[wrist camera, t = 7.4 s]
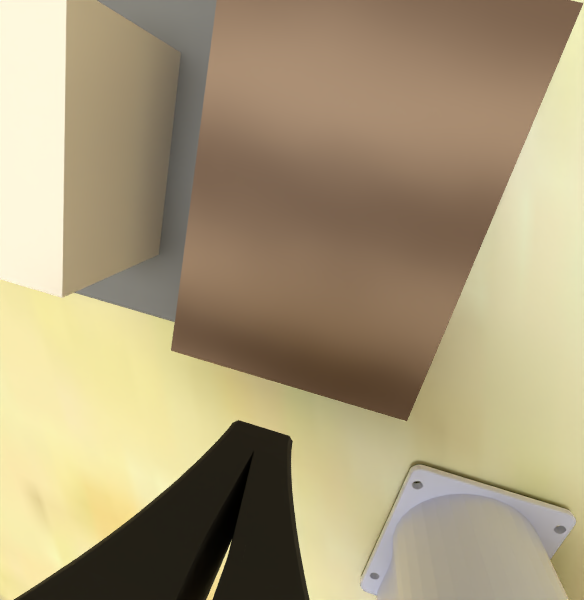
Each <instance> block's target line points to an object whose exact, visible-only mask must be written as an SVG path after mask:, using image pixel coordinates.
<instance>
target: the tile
mask: <svg viewBox="0 0 584 600" xmlns="http://www.w3.org/2000/svg"><path fill="white" fill-rule="evenodd" d="M180 56H181V52H179V51H177V50H176V49H174V48H173V47H171V46H169V45H168V44H166V43H165V42H163V41H161V40H160V39H158V38H157V37H155V36H153V35H152V34H150V33H149V32H147V31H145V30H144V29H142V28H140V27H139V26H137V25H136V24H134V23H132V22H131V21H129V20H128V19H126V18H124V17H123V16H121V15H120V14H118V13H116V12H115V11H113V10H112V9H110V8H108V7H107V6H105V5H104V4H102V3H100V2H99V1H97V0H0V279H1V280H5V281H8V282H11V283H15V284H18V285H21V286H25V287H28V288H31V289H35V290H38V291H41V292H45V293H48V294H51V295H55V296H58V297H61V298H63V297H65V296H67V295H69V294H72V293H74V292H76V291H78V290H81V289H83V288H85V287H87V286H90V285H92V284H94V283H96V282H99V281H101V280H103V279H105V278H107V277H110V276H112V275H114V274H116V273H119V272H121V271H123V270H125V269H128V268H130V267H132V266H134V265H137V264H139V263H141V262H143V261H146V260H148V259H150V258H152V257H154V256H157V255H159V247H160V238H161V229H162V220H163V211H164V202H165V193H166V184H167V175H168V165H169V156H170V147H171V138H172V129H173V120H174V111H175V102H176V93H177V84H178V75H179V65H180Z"/></svg>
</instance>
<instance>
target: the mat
mask: <svg viewBox="0 0 584 600" xmlns="http://www.w3.org/2000/svg"><path fill="white" fill-rule="evenodd" d="M97 1H99V2H100V3H102V4H104V5H105V6H107V7H108V8H110V9H112V10H113V11H115V12H116V13H118V14H120V15H121V16H123V17H124V18H126V19H128V20H129V21H131V22H132V23H134V24H136V25H137V26H139V27H140V28H142V29H144V30H145V31H147V32H149V33H150V34H152V35H153V36H155V37H157V38H158V39H160V40H161V41H163V42H165V43H166V44H168V45H169V46H171V47H173V48H174V49H176V50H177V51H179V52H181V56H180V65H179V75H178V84H177V93H176V102H175V111H174V120H173V129H172V138H171V147H170V156H169V165H168V175H167V184H166V193H165V202H164V211H163V220H162V229H161V238H160V247H159V255H157V256H154V257H152V258H150V259H148V260H146V261H143V262H141V263H139V264H137V265H134V266H132V267H130V268H128V269H125V270H123V271H121V272H119V273H116V274H114V275H112V276H110V277H107V278H105V279H103V280H101V281H99V282H96V283H94V284H92V285H90V286H87V287H85V288H83V289H81V290H78V291H76V292H74V293H78V294H81V295H84V296H88V297H91V298H95V299H98V300H101V301H105V302H108V303H112V304H115V305H119V306H122V307H125V308H129V309H132V310H136V311H139V312H142V313H146V314H149V315H153V316H156V317H159V318H163V319H166V320H170V321H173V322H175V317H176V309H177V301H178V294H179V286H180V278H181V271H182V263H183V255H184V248H185V240H186V232H187V225H188V217H189V209H190V202H191V194H192V186H193V179H194V171H195V163H196V156H197V148H198V140H199V133H200V125H201V117H202V110H203V102H204V94H205V86H206V79H207V71H208V63H209V56H210V48H211V40H212V33H213V25H214V17H215V10H216V2H217V0H97Z"/></svg>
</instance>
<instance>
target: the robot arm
mask: <svg viewBox="0 0 584 600" xmlns="http://www.w3.org/2000/svg"><path fill="white" fill-rule="evenodd" d="M292 442H293V441H292V440H291V438H290V436H288V435H285V434H281V433H278V432H275V431H272V430H268V429H265V428H262V427H259V426H255V425H252V424H249V423H246V422H243V421H239V420H238V421H236V422H234V423H232V425H231V426H230V427H229V428H228V430H227V431H226V432H225V433H224V434H223V435H222V436H221V438H220V439H219V440H218V441H217V442H216V443H215V444H214V445H213V446H212V447H211V448H210V449H209V450H208V451H207V452H206V453H205V454H204V455H203V456H202V457H201V458H200V459H199V460H198V461H197V462H196V463H195V464H194V465H193V466H192V467H191V468H189V469H188V470H187V471H186V472H185V473H184V474H183V475H182V476H181V477H180V478H179V479H178V480H177V481H175V482H174V483H173V484H172V485H171V486H170V487H169V488H167V489H166V490H165V491H164V492H163V493H161V494H160V495H159V496H158V497H157V498H155V499H154V500H153V501H152V502H151V503H149V504H148V505H147V506H146V507H145V508H143V509H142V510H141V511H140V512H139V513H137V514H136V515H135V516H134V517H132V518H131V519H130V520H128V521H127V522H126V523H125V524H123V525H122V526H121V527H119V528H118V529H117V530H115V531H114V532H113V533H111V534H110V535H109V536H107V537H106V538H105V539H103V540H102V541H100V542H99V543H98V544H96V545H95V546H93V547H92V548H91V549H89V550H88V551H87V552H85V553H84V554H82V555H81V556H79V557H78V558H77V559H75V560H74V561H72V562H71V563H69V564H68V565H66V566H65V567H63V568H62V569H60V570H59V571H57V572H56V573H54V574H53V575H51V576H50V577H48V578H47V579H45V580H44V581H42V582H41V583H39V584H38V585H36V586H35V587H33V588H31V589H30V590H28V591H27V592H25V593H24V594H22V595H20V596H19V597H17V598H16V599H14V600H206V599H207V596H208V594H209V592H210V589H211V587H212V585H213V582H214V580H215V578H216V575H217V573H218V571H219V568H220V566H221V564H222V561H223V559H224V557H225V554H226V552H227V550H228V547H229V545H230V542H231V546H230V550H229V554H228V557H227V560H226V563H225V566H224V569H223V572H222V574H221V577H220V580H219V583H218V586H217V589H216V591H215V594H214V597H213V600H309V595H308V591H307V586H306V581H305V576H304V570H303V565H302V560H301V554H300V548H299V542H298V536H297V529H296V521H295V513H294V504H293V495H292V480H291V449H292ZM415 481H420V483H413V482H415ZM575 524H576V519H575V517H574V515H573V514H572V513H571V511H569V510H567V509H565V508H561V507H558V506H555V505H552V504H548V503H545V502H542V501H539V500H535V499H532V498H529V497H526V496H522V495H519V494H516V493H513V492H509V491H506V490H503V489H500V488H496V487H493V486H490V485H487V484H483V483H480V482H477V481H474V480H470V479H467V478H464V477H460V476H457V475H454V474H451V473H447V472H444V471H441V470H438V469H434V468H431V467H428V466H425V465H415V466H413V467H412V468H411V469H410V470H409V473H408V475H407V477H406V479H405V482H404V484H403V486H402V488H401V490H400V493H399V495H398V497H397V499H396V501H395V504H394V506H393V508H392V510H391V513H390V515H389V517H388V519H387V521H386V524H385V526H384V528H383V530H382V532H381V535H380V537H379V539H378V541H377V543H376V546H375V548H374V550H373V552H372V555H371V557H370V559H369V561H368V563H367V566H366V568H365V570H364V572H363V574H362V577H361V580H360V586H361V588H362V589H363V590H364V591H366V592H368V593H371V594H374V595H377V600H569V598H568V596H567V594H566V592H565V590H564V588H563V586H562V584H561V582H560V580H559V578H558V575H557V573H556V571H555V569H554V567H553V565H552V563H551V561H550V559H551V558H552V557H553V555H554V554H555V552H556V551H557V549H558V548H559V547H560V545H561V544H562V542H563V541H564V540H565V538H566V537H567V535H568V534H569V533H570V531H571V530H572V528H573V527H574V526H575ZM559 525H560V526H559ZM556 526H557V527H556ZM231 540H232V541H231Z"/></svg>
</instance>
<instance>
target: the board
mask: <svg viewBox="0 0 584 600" xmlns="http://www.w3.org/2000/svg"><path fill="white" fill-rule="evenodd" d="M582 5H583V3H580V2H575V1H571V0H217V2H216V10H215V17H214V25H213V33H212V40H211V48H210V56H209V63H208V71H207V79H206V86H205V94H204V102H203V110H202V117H201V125H200V133H199V140H198V148H197V156H196V163H195V171H194V179H193V186H192V194H191V202H190V209H189V217H188V225H187V232H186V240H185V248H184V255H183V263H182V271H181V278H180V286H179V294H178V301H177V309H176V317H175V325H174V332H173V340H172V348H171V351H174V352H178V353H181V354H184V355H188V356H191V357H194V358H198V359H201V360H204V361H208V362H211V363H214V364H218V365H221V366H224V367H228V368H231V369H235V370H238V371H241V372H245V373H248V374H251V375H255V376H258V377H261V378H265V379H268V380H271V381H275V382H278V383H281V384H285V385H288V386H291V387H295V388H298V389H301V390H305V391H308V392H311V393H315V394H318V395H321V396H325V397H328V398H331V399H335V400H338V401H341V402H345V403H348V404H352V405H355V406H358V407H362V408H365V409H368V410H372V411H375V412H378V413H382V414H385V415H388V416H392V417H395V418H398V419H402V420H405V421H407V420H408V417H409V415H410V412H411V410H412V408H413V405H414V403H415V401H416V398H417V396H418V394H419V391H420V389H421V386H422V384H423V382H424V379H425V377H426V375H427V372H428V370H429V367H430V365H431V363H432V360H433V358H434V356H435V353H436V351H437V349H438V346H439V344H440V341H441V339H442V337H443V334H444V332H445V330H446V327H447V325H448V323H449V320H450V318H451V315H452V313H453V311H454V308H455V306H456V304H457V301H458V299H459V296H460V294H461V292H462V289H463V287H464V285H465V282H466V280H467V278H468V275H469V273H470V270H471V268H472V266H473V263H474V261H475V259H476V256H477V254H478V251H479V249H480V247H481V244H482V242H483V240H484V237H485V235H486V233H487V230H488V228H489V225H490V223H491V221H492V218H493V216H494V214H495V211H496V209H497V206H498V204H499V202H500V199H501V197H502V195H503V192H504V190H505V188H506V185H507V183H508V180H509V178H510V176H511V173H512V171H513V169H514V166H515V164H516V161H517V159H518V157H519V154H520V152H521V150H522V147H523V145H524V143H525V140H526V138H527V135H528V133H529V131H530V128H531V126H532V124H533V121H534V119H535V117H536V114H537V112H538V109H539V107H540V105H541V102H542V100H543V98H544V95H545V93H546V90H547V88H548V86H549V83H550V81H551V79H552V76H553V74H554V72H555V69H556V67H557V64H558V62H559V60H560V57H561V55H562V53H563V50H564V48H565V45H566V43H567V41H568V38H569V36H570V34H571V31H572V29H573V27H574V24H575V22H576V19H577V17H578V15H579V12H580V10H581V8H582Z"/></svg>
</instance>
